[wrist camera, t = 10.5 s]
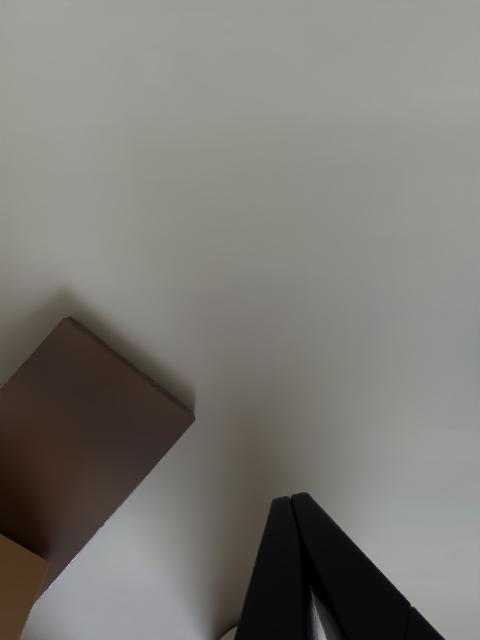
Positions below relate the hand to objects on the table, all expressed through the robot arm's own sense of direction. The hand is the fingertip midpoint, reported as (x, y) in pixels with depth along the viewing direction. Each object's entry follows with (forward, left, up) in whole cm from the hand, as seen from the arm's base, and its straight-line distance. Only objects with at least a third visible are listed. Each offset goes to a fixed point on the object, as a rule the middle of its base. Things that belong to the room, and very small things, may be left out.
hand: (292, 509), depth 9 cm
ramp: (+4, +15, -12) cm, 20 cm away
